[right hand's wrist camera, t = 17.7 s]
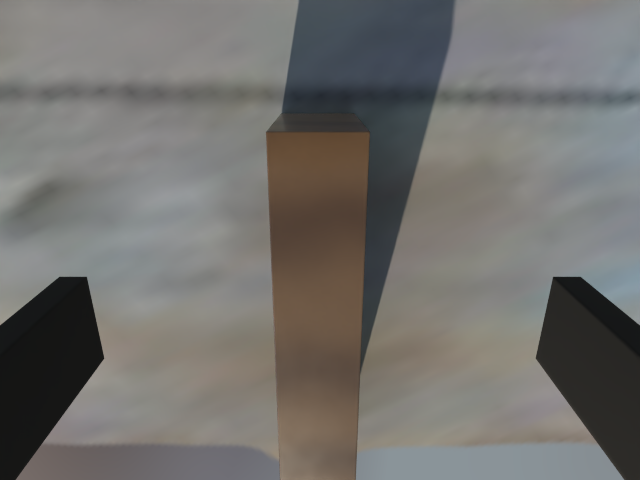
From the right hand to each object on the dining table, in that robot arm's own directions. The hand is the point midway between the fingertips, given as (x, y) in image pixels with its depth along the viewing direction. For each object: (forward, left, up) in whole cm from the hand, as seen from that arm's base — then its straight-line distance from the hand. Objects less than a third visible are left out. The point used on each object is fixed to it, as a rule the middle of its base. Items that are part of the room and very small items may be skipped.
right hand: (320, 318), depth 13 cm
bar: (+8, -4, -19) cm, 21 cm away
